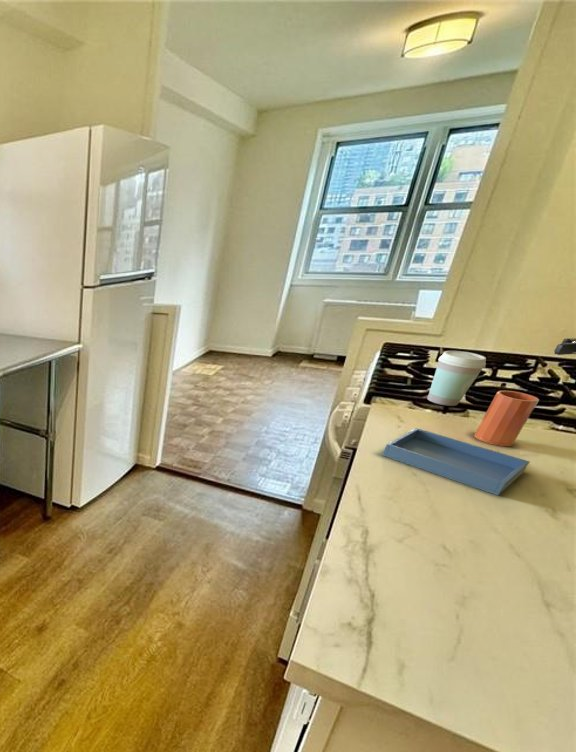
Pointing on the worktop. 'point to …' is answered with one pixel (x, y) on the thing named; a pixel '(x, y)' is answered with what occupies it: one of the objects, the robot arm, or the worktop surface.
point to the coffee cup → (454, 376)
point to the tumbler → (505, 417)
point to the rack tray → (456, 460)
